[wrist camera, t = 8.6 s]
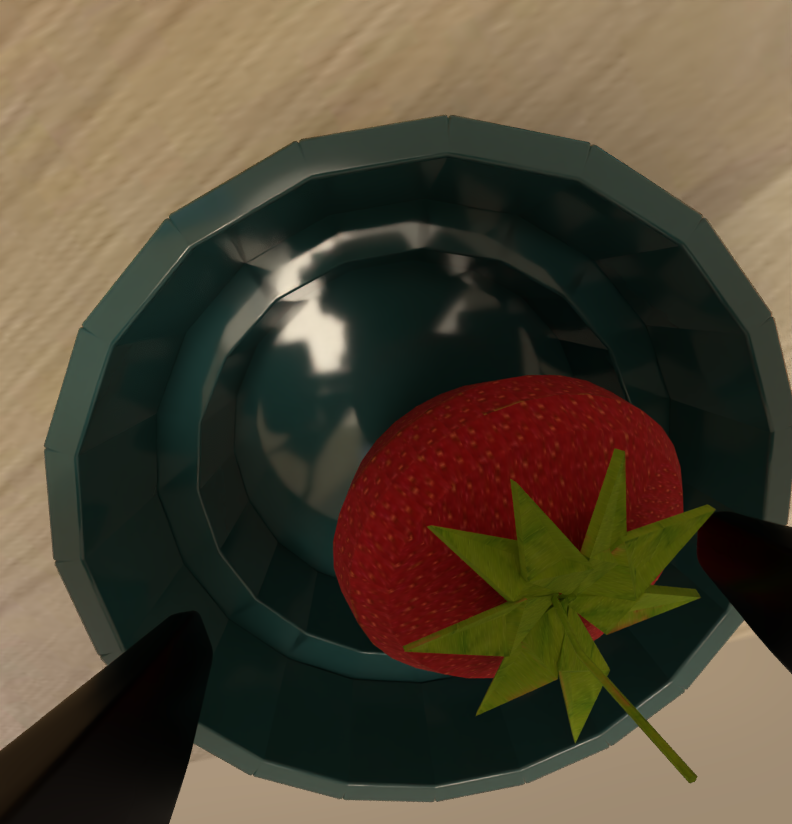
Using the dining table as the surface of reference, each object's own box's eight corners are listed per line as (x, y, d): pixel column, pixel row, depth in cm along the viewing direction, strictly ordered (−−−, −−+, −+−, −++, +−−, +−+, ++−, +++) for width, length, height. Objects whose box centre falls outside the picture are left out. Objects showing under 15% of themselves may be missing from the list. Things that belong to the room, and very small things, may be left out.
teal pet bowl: (618, 575, 17) (765, 738, 11) (257, 644, 17) (189, 852, 10) (610, 169, 13) (844, 44, 6) (126, 253, 12) (-119, 208, 6)
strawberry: (547, 470, 15) (952, 733, 6) (360, 556, 14) (470, 1035, 5) (504, 318, 13) (988, 333, 4) (289, 407, 13) (244, 701, 3)
